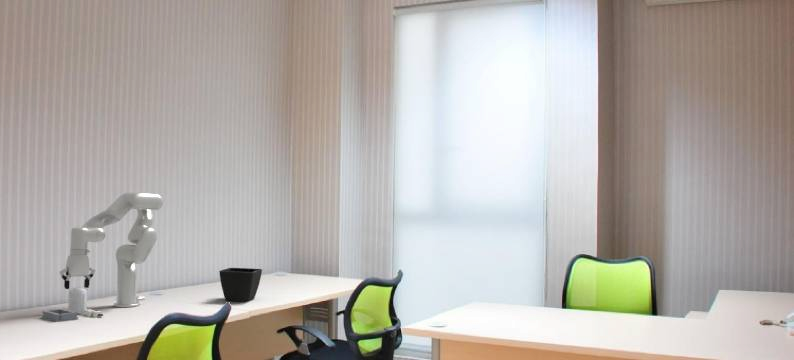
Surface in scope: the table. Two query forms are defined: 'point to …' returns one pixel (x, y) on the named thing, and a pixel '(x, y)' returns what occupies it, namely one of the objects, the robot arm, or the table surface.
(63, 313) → the end holder
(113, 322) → the table surface
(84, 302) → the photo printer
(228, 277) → the flower pot
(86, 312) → the white cube chain
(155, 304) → the table surface
